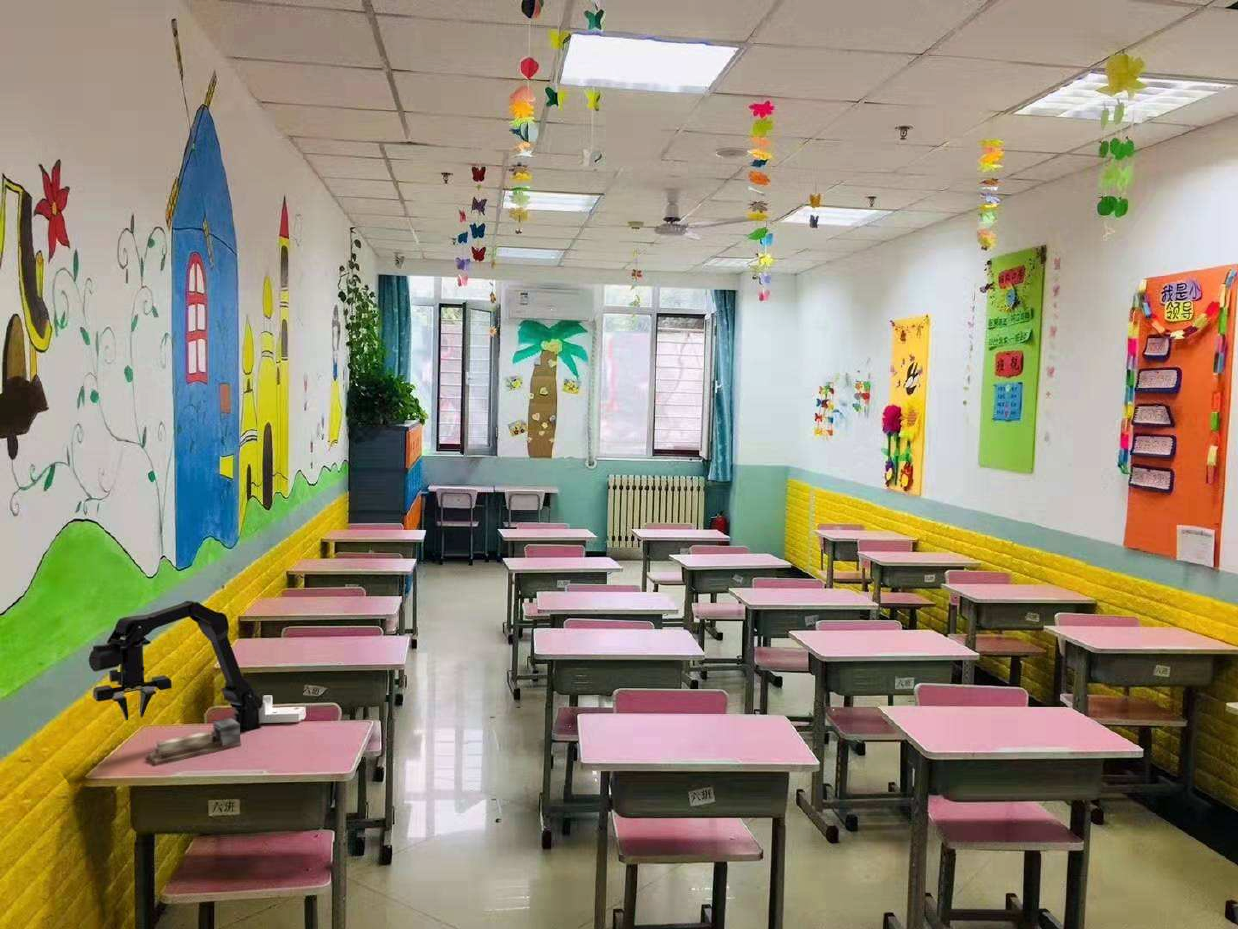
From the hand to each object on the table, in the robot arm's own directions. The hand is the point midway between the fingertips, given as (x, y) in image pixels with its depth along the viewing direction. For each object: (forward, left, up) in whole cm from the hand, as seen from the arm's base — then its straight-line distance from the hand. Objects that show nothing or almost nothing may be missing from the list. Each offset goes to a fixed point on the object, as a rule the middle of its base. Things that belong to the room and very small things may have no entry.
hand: (134, 718), depth 259 cm
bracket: (-45, -10, -14) cm, 48 cm away
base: (-15, 0, -13) cm, 20 cm away
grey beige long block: (-13, 0, -12) cm, 18 cm away
